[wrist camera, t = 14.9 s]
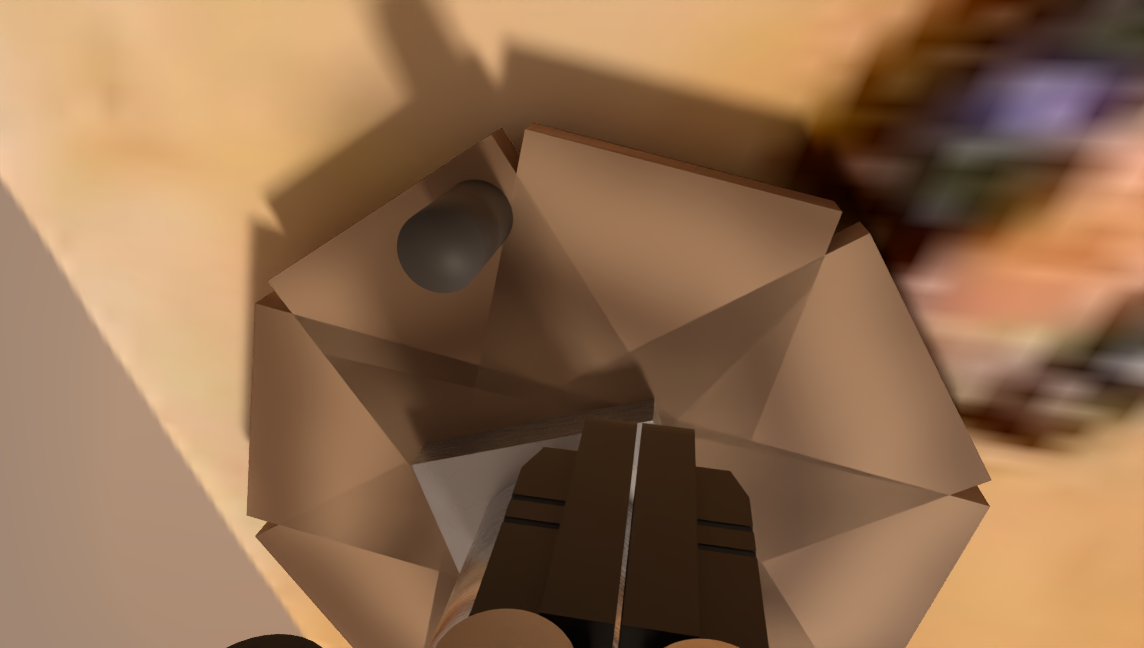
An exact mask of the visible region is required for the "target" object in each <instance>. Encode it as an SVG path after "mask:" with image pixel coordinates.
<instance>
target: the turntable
mask: <svg viewBox="0 0 1144 648" xmlns="http://www.w3.org/2000/svg"><path fill="white" fill-rule="evenodd" d="M841 214H842V211H841V209H840V208H839V207H838V206H837V204H836V203H835V202H834V201H832V200H828V199H824V198H820V197H817V196H813V195H809V194H805V193H801V192H797V191H793V190H790V189H786V188H782V187H778V186H774V185H770V184H767V183H763V182H759V181H755V180H751V179H747V178H743V177H740V176H736V175H732V174H728V173H724V172H720V171H716V170H713V169H709V168H705V167H701V166H697V165H693V164H689V163H686V162H682V161H678V160H674V159H670V158H666V157H663V156H659V155H655V154H651V153H647V152H643V151H639V150H636V149H632V148H628V147H624V146H620V145H616V144H612V143H609V142H605V141H601V140H597V139H593V138H589V137H585V136H582V135H578V134H574V133H570V132H566V131H562V130H559V129H555V128H551V127H547V126H543V125H539V124H535V123H533V124H532V125H530V126H529V127H527V128H526V129H525V132H524V137H523V142H522V147H521V152H520V156H519V155H518V153H517V151H516V150H515V148H514V147H513V145H512V143H511V142H510V140H509V139H508V137H507V135H506V134H505V132H504V131H503V129H502V128H501V129H500V130H498V131H496V132H495V133H493V134H491V135H490V136H488V137H487V138H485V139H484V140H482V141H481V142H479V143H477V144H476V145H474V146H473V147H471V148H470V149H468V150H467V151H465V152H464V153H462V154H461V155H459V156H458V157H456V158H455V159H453V160H452V161H450V162H448V163H447V164H445V165H444V166H442V167H441V168H439V169H438V170H436V171H435V172H433V173H432V174H430V175H429V176H427V177H426V178H424V179H423V180H421V181H420V182H418V183H416V184H415V185H413V186H412V187H410V188H409V189H407V190H406V191H404V192H403V193H401V194H400V195H398V196H397V197H395V198H394V199H392V200H391V201H389V202H387V203H386V204H384V205H383V206H381V207H380V208H378V209H377V210H375V211H374V212H372V213H371V214H369V215H368V216H366V217H365V218H363V219H362V220H360V221H359V222H357V223H355V224H354V225H352V226H351V227H349V228H348V229H346V230H345V231H343V232H342V233H340V234H339V235H337V236H336V237H334V238H333V239H331V240H330V241H328V242H326V243H325V244H323V245H322V246H320V247H319V248H317V249H316V250H314V251H313V252H311V253H310V254H308V255H307V256H305V257H304V258H302V259H301V260H299V261H298V262H296V263H294V264H293V265H291V266H290V267H288V268H287V269H285V270H284V271H282V272H281V273H279V274H278V275H276V276H275V277H273V278H272V279H270V280H269V281H268V283H269V284H270V285H271V287H272V288H273V289H274V292H272V293H270V294H269V295H267V296H266V297H264V298H263V299H261V300H260V301H258V302H257V303H255V323H254V348H253V373H252V397H251V422H250V447H249V471H248V496H247V516H251V517H254V518H257V519H261V520H264V521H268V522H267V523H266V524H265V525H264V526H263V528H262V529H261V530H260V531H259V532H258V534H257V535H256V536H255V537H256V538H257V539H258V540H259V541H260V542H261V543H262V545H263V546H264V547H265V548H266V549H267V550H268V551H269V553H270V554H271V555H272V556H273V557H274V558H275V559H276V561H277V562H278V563H279V564H280V565H281V566H282V567H283V568H284V570H285V571H286V572H287V573H288V574H289V575H290V576H291V578H292V579H293V580H294V581H295V582H296V583H297V584H298V586H299V587H300V588H301V589H302V590H303V591H304V592H305V594H306V595H307V596H308V597H309V598H310V599H311V600H312V602H313V603H314V604H315V605H316V606H317V607H318V608H319V609H320V611H321V612H322V613H323V614H324V615H325V616H326V617H327V619H328V620H329V621H330V622H331V623H332V624H333V625H334V627H335V628H336V629H337V630H338V631H339V632H340V633H341V635H342V636H343V637H344V638H345V639H346V640H347V641H348V643H349V644H350V645H351V646H352V647H353V648H429V647H430V644H431V642H432V639H433V637H434V635H435V632H436V630H437V627H438V625H439V622H440V620H441V618H442V615H443V613H444V610H445V608H446V605H447V603H448V601H449V598H450V596H451V593H452V591H453V588H454V586H455V584H456V581H457V579H458V576H459V572H458V569H457V567H456V565H455V563H454V560H453V558H452V556H451V553H450V551H449V549H448V547H447V544H446V542H445V540H444V538H443V535H442V533H441V531H440V529H439V526H438V524H437V522H436V519H435V517H434V515H433V513H432V510H431V508H430V506H429V504H428V501H427V499H426V497H425V495H424V492H423V490H422V488H421V485H420V483H419V481H418V479H417V476H416V474H415V472H414V470H413V467H412V463H413V462H414V460H415V459H416V457H417V455H418V454H419V452H420V450H421V449H422V447H423V446H424V444H425V443H426V442H431V441H437V440H442V439H447V438H452V437H457V436H463V435H468V434H473V433H478V432H483V431H489V430H494V429H499V428H504V427H509V426H515V425H520V424H525V423H530V422H535V421H541V420H546V419H551V418H556V417H561V416H566V415H572V414H577V413H582V412H587V411H592V410H598V409H603V408H608V407H613V406H618V405H624V404H629V403H634V402H639V401H644V400H650V399H655V401H656V404H657V408H658V411H659V415H660V418H661V422H662V425H664V426H672V427H680V428H688V429H694V430H695V458H696V466H697V467H705V468H712V469H720V470H728V471H731V472H732V474H733V475H734V477H735V478H736V479H737V481H738V482H739V484H740V485H741V486H742V488H743V489H744V491H745V492H746V493H747V495H748V496H749V498H750V506H751V513H752V521H753V532H754V536H755V544H756V558H757V559H758V567H759V575H760V582H761V590H762V598H763V605H764V613H765V621H766V628H767V636H768V644H769V648H905V647H906V646H907V644H908V642H909V641H910V639H911V637H912V636H913V634H914V632H915V631H916V629H917V627H918V626H919V624H920V622H921V621H922V619H923V617H924V616H925V614H926V612H927V611H928V609H929V607H930V606H931V604H932V602H933V601H934V599H935V597H936V596H937V594H938V592H939V591H940V589H941V587H942V586H943V584H944V582H945V581H946V579H947V577H948V576H949V574H950V572H951V571H952V569H953V567H954V566H955V564H956V562H957V561H958V559H959V557H960V556H961V554H962V552H963V551H964V549H965V547H966V546H967V544H968V542H969V541H970V539H971V537H972V536H973V534H974V532H975V531H976V529H977V527H978V526H979V524H980V522H981V521H982V519H983V517H984V516H985V514H986V512H987V511H988V509H989V507H990V506H989V504H988V503H987V501H986V499H985V498H984V496H983V494H982V493H981V491H980V490H979V488H978V486H977V485H979V484H982V483H985V482H988V481H991V478H990V476H989V474H988V472H987V470H986V468H985V466H984V464H983V462H982V460H981V458H980V456H979V454H978V452H977V450H976V448H975V446H974V444H973V441H972V439H971V437H970V435H969V433H968V431H967V429H966V427H965V425H964V423H963V421H962V419H961V417H960V415H959V413H958V411H957V409H956V407H955V405H954V403H953V401H952V399H951V397H950V395H949V393H948V391H947V389H946V387H945V385H944V383H943V381H942V379H941V377H940V375H939V373H938V371H937V368H936V366H935V364H934V362H933V360H932V358H931V356H930V354H929V352H928V350H927V348H926V346H925V344H924V342H923V340H922V338H921V336H920V334H919V332H918V330H917V328H916V326H915V324H914V322H913V320H912V318H911V316H910V314H909V312H908V310H907V308H906V306H905V304H904V302H903V300H902V298H901V295H900V293H899V291H898V289H897V287H896V285H895V283H894V281H893V279H892V277H891V275H890V273H889V271H888V269H887V267H886V265H885V263H884V261H883V259H882V257H881V255H880V253H879V251H878V249H877V247H876V245H875V243H874V241H873V239H872V237H871V235H870V233H869V232H868V231H867V229H866V228H865V227H864V226H863V225H862V223H861V222H860V221H859V222H857V223H855V224H853V225H851V226H849V227H847V228H845V229H843V230H841V231H839V232H837V233H835V234H834V232H835V229H836V227H837V224H838V222H839V219H840V217H841Z"/></svg>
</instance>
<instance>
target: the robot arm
mask: <svg viewBox="0 0 1144 648" xmlns="http://www.w3.org/2000/svg"><path fill="white" fill-rule="evenodd" d="M637 424H638V422H630V421H622V420H614V419H606V418H598V417H590V416H586V419H585V423H584V427H583V431H582V435H581V439H580V444H579V448H578V451H572V450H564V449H557V448H549V447H544V448H542V449H541V450H540V451H539V452H538V453H537V454H536V455H535V456H534V457H532V458H531V459H530V460H529V461H528V462H527V463H526V464H525V465H524V466H522V467H521V470H520V473H519V476H518V479H517V482H516V484H515V487H514V490H513V493H512V499H510V502H509V504H508V507H507V510H506V513H505V516H504V522H502V524H501V527H500V530H499V533H498V536H497V538H496V541H495V544H494V547H493V550H492V553H491V556H490V558H489V561H488V564H487V567H486V570H485V573H484V575H483V578H482V581H481V584H480V587H479V590H478V593H477V595H476V598H475V601H474V604H473V607H472V610H471V612H470V614H469V616H468V618H466V619H464V620H462V621H461V622H459V623H458V624H456V625H455V626H454V627H452V628H451V629H450V630H449V631H448V632H447V633H446V634H445V635H444V636H443V637H442V638H441V640H440V641H439V642H438V644H437V646H436V647H435V648H613V640H614V631H615V622H616V613H617V604H618V595H619V586H620V578H621V569H622V560H623V551H624V542H625V533H626V524H627V515H628V506H629V496H630V487H631V478H632V469H633V460H634V451H635V442H636V433H637ZM227 648H322V647H321V646H319V645H318V644H316V643H315V642H313V641H311V640H308V639H306V638H303V637H299V636H294V635H286V634H274V635H263V636H259V637H254V638H250V639H247V640H244V641H241V642H238V643H236V644H233V645H231V646H229V647H227ZM618 648H769V644H768V636H767V628H766V621H765V613H764V605H763V598H762V590H761V582H760V575H759V567H758V559H757V558H756V544H755V536H754V532H753V521H752V513H751V506H750V498H749V496H748V495H747V493H746V492H745V491H744V489H743V488H742V486H741V485H740V484H739V482H738V481H737V479H736V478H735V477H734V475H733V474H732V472H731V471H728V470H720V469H712V468H705V467H697V466H696V458H695V430H694V429H688V428H680V427H672V426H664V425H656V424H648V423H642V430H641V439H640V447H639V456H638V465H637V474H636V483H635V492H634V500H633V509H632V518H631V527H630V536H629V546H628V555H627V565H626V574H625V584H624V593H623V603H622V613H621V622H620V632H619V642H618Z"/></svg>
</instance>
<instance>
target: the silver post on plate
mask: <svg viewBox="0 0 1144 648" xmlns="http://www.w3.org/2000/svg"><path fill="white" fill-rule="evenodd" d="M586 416H590V417H598V418H606V419H614V420H622V421H630V422H638V424H637V433H636V442H635V451H634V460H633V469H632V478H631V487H630V496H629V506H628V515H627V524H626V533H625V542H624V551H623V560H622V569H621V578H620V586H619V595H618V604H617V613H616V622H615V631H614V640H613V648H618V642H619V632H620V622H621V613H622V603H623V593H624V584H625V574H626V565H627V555H628V546H629V536H630V527H631V518H632V509H633V500H634V492H635V483H636V474H637V465H638V456H639V447H640V439H641V430H642V423H648V424H656V425H662V422H661V418H660V415H659V411H658V408H657V404H656V401H655V399H650V400H644V401H639V402H634V403H629V404H624V405H618V406H613V407H608V408H603V409H598V410H592V411H587V412H582V413H577V414H572V415H566V416H561V417H556V418H551V419H546V420H541V421H535V422H530V423H525V424H520V425H515V426H509V427H504V428H499V429H494V430H489V431H483V432H478V433H473V434H468V435H463V436H457V437H452V438H447V439H442V440H437V441H431V442H426V443H425V444H424V446H423V447H422V449H421V450H420V452H419V454H418V455H417V457H416V459H415V460H414V462H413V463H412V467H413V470H414V472H415V474H416V476H417V479H418V481H419V483H420V485H421V488H422V490H423V492H424V495H425V497H426V499H427V501H428V504H429V506H430V508H431V510H432V513H433V515H434V517H435V519H436V522H437V524H438V526H439V529H440V531H441V533H442V535H443V538H444V540H445V542H446V544H447V547H448V549H449V551H450V553H451V556H452V558H453V560H454V563H455V565H456V567H457V569H458V572H459V576H458V579H457V581H456V584H455V586H454V588H453V591H452V593H451V596H450V598H449V601H448V603H447V605H446V608H445V610H444V613H443V615H442V618H441V620H440V622H439V625H438V627H437V630H436V632H435V635H434V637H433V639H432V642H431V644H430V647H429V648H435V647H436V646H437V644H438V642H439V641H440V640H441V638H442V637H443V636H444V635H445V634H446V633H447V632H448V631H449V630H450V629H451V628H452V627H454V626H455V625H456V624H458V623H459V622H461V621H462V620H464V619H466V618H468V616H469V614H470V612H471V610H472V607H473V604H474V601H475V598H476V595H477V593H478V590H479V587H480V584H481V581H482V578H483V575H484V573H485V570H486V567H487V564H488V561H489V558H490V556H491V553H492V550H493V547H494V544H495V541H496V538H497V536H498V533H499V530H500V527H501V524H502V522H504V516H505V513H506V510H507V507H508V504H509V502H510V499H512V493H513V490H514V487H515V484H516V482H517V479H518V476H519V473H520V470H521V467H522V466H524V465H525V464H526V463H527V462H528V461H529V460H530V459H531V458H532V457H534V456H535V455H536V454H537V453H538V452H539V451H540V450H541V449H542V448H544V447H549V448H557V449H564V450H572V451H578V448H579V444H580V439H581V435H582V431H583V427H584V423H585V419H586Z"/></svg>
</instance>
